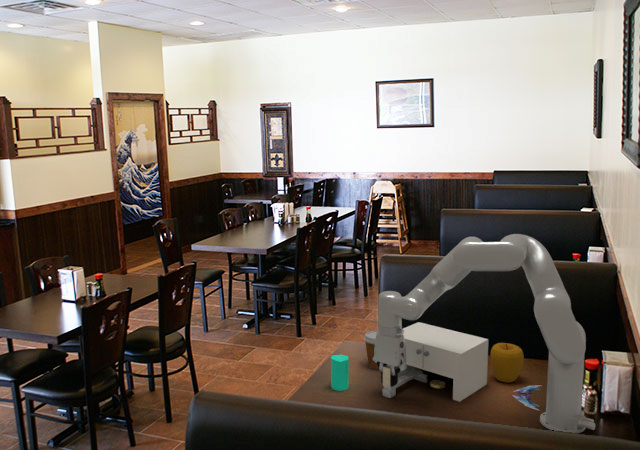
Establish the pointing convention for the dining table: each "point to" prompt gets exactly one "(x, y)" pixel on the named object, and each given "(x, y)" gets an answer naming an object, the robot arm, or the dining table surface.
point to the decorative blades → (526, 399)
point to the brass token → (437, 384)
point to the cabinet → (447, 356)
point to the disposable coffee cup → (371, 348)
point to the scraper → (400, 379)
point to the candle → (339, 372)
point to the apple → (506, 361)
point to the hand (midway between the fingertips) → (389, 383)
